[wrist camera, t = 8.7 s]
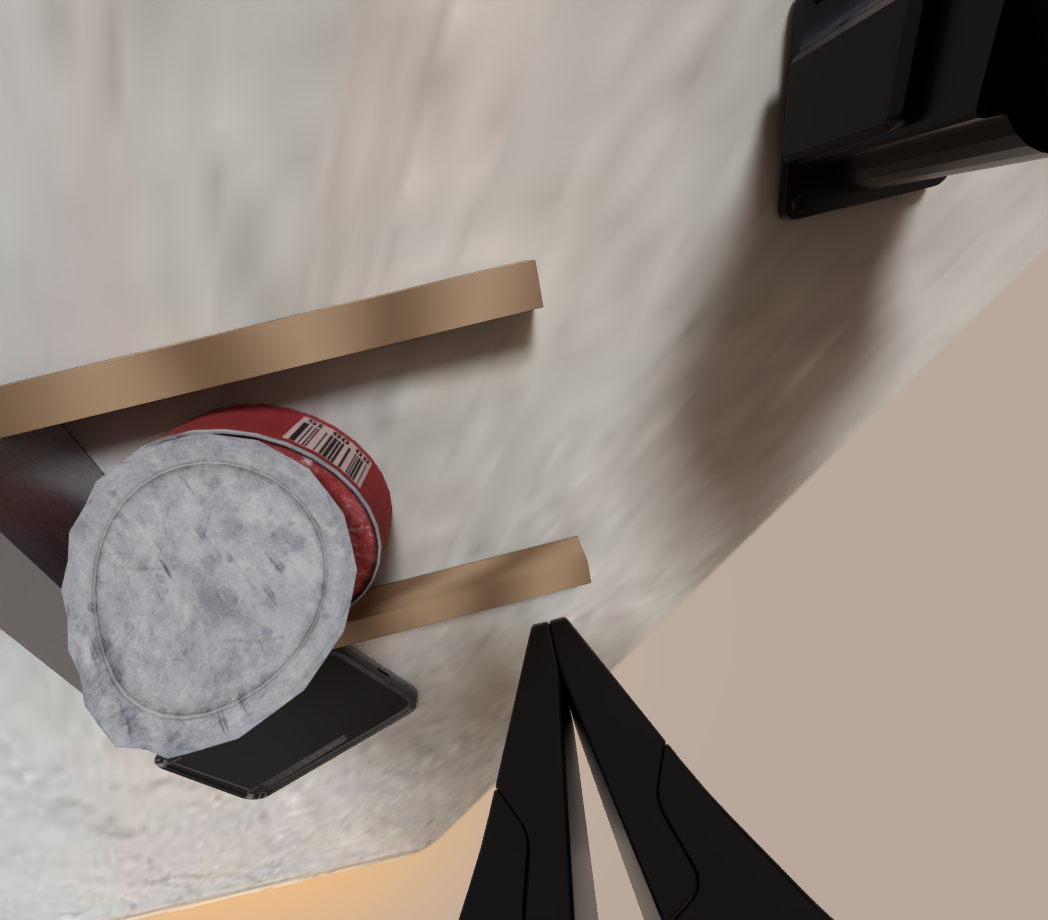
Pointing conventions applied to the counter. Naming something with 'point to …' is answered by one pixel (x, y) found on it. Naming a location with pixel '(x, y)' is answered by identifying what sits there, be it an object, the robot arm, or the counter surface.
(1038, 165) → the counter surface
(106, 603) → the canned food
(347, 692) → the phone
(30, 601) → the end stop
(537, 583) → the guide channel
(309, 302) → the counter surface
